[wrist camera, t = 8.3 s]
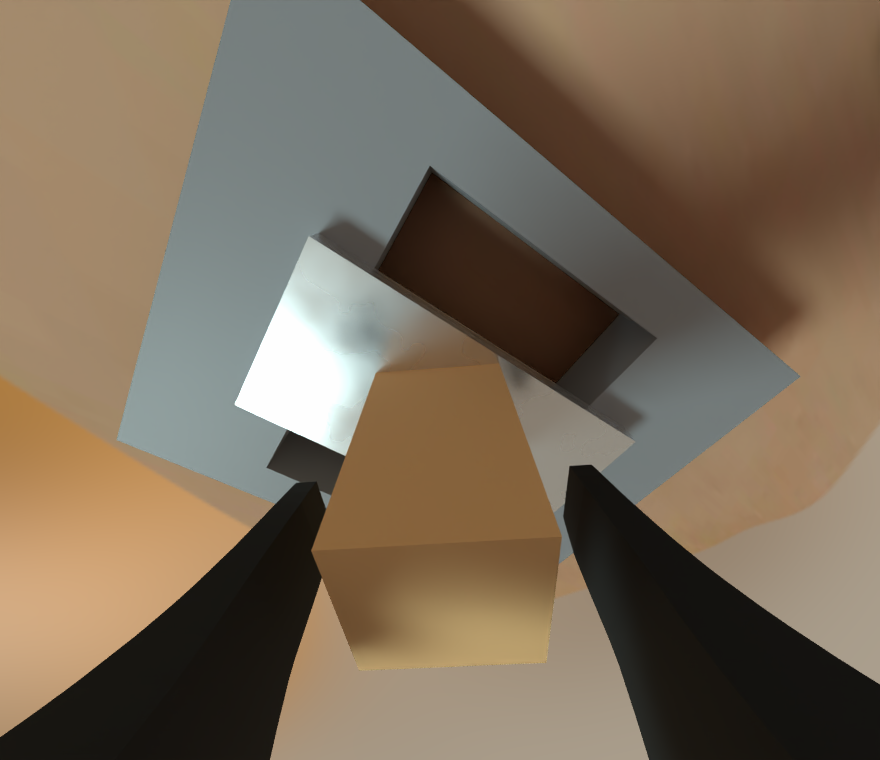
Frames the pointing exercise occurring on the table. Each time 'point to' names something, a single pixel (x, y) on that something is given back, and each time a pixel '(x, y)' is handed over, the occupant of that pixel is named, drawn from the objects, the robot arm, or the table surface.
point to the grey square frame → (371, 236)
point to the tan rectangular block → (440, 527)
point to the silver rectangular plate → (399, 365)
